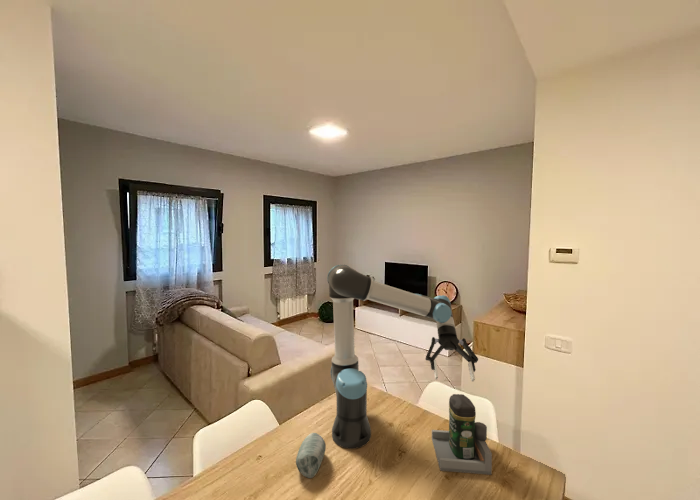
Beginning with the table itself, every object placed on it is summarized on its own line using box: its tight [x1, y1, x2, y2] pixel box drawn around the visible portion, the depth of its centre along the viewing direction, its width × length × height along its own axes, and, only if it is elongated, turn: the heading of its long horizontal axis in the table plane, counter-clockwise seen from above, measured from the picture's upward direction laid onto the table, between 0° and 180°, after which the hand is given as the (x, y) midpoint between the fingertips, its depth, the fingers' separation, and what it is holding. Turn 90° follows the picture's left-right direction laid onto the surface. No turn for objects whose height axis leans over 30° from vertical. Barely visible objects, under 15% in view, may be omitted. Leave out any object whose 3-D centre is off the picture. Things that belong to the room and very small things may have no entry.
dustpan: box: [431, 421, 493, 476], centre depth 98 cm, size 17×15×11 cm
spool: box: [295, 432, 327, 479], centre depth 94 cm, size 14×10×10 cm
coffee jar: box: [448, 393, 477, 460], centre depth 99 cm, size 10×8×19 cm
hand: (454, 379), depth 108 cm, fingers open, 13 cm apart
